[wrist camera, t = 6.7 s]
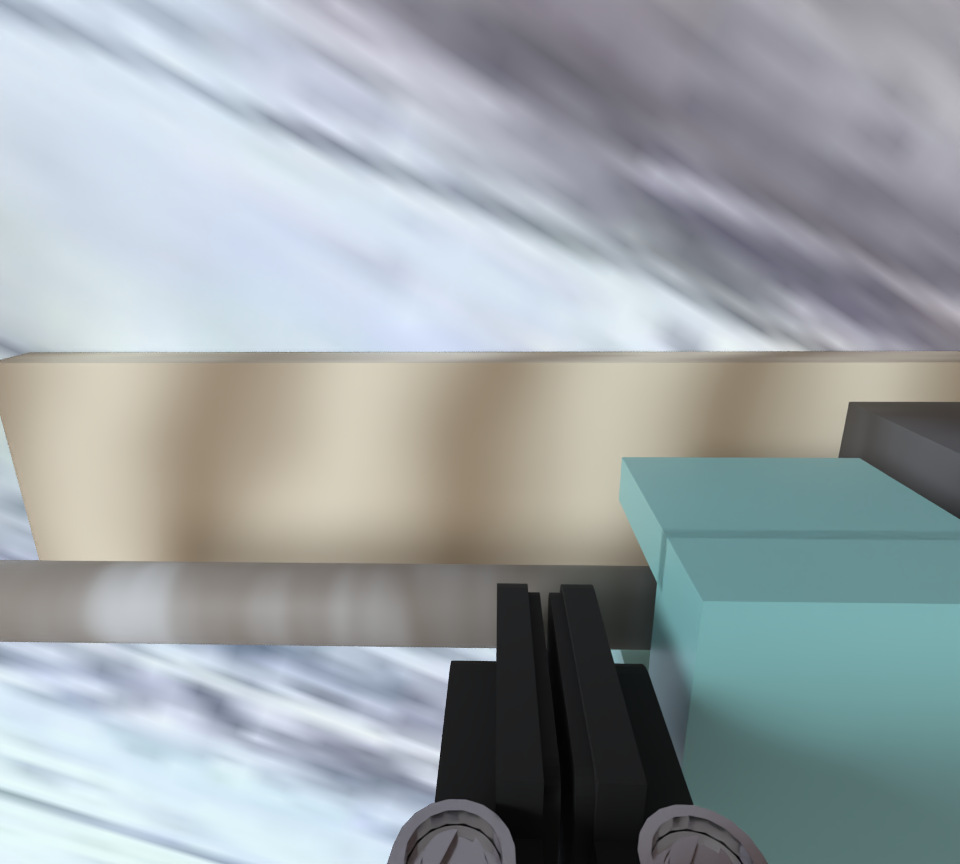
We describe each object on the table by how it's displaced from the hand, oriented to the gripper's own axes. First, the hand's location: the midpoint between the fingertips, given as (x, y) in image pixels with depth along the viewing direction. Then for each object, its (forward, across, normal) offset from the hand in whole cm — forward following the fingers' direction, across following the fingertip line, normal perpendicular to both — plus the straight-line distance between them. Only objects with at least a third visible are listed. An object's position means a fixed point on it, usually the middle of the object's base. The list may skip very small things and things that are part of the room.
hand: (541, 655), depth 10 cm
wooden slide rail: (+8, +1, 0) cm, 8 cm away
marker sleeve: (+3, -4, 0) cm, 6 cm away
